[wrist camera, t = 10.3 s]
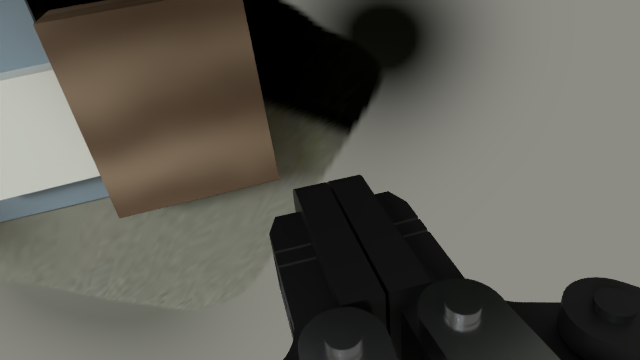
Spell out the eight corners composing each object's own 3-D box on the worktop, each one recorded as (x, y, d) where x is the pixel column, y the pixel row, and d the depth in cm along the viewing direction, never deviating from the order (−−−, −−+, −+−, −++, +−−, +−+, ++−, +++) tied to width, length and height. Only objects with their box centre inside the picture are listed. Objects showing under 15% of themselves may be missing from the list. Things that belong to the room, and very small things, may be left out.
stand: (48, 10, 30) (32, 24, 27) (233, -23, 32) (239, -14, 29) (124, 190, 38) (119, 218, 34) (270, 155, 40) (279, 179, 36)
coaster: (-67, 86, 30) (-81, 97, 29) (61, 59, 32) (55, 69, 30) (-3, 188, 35) (-12, 203, 33) (107, 161, 36) (104, 174, 34)
